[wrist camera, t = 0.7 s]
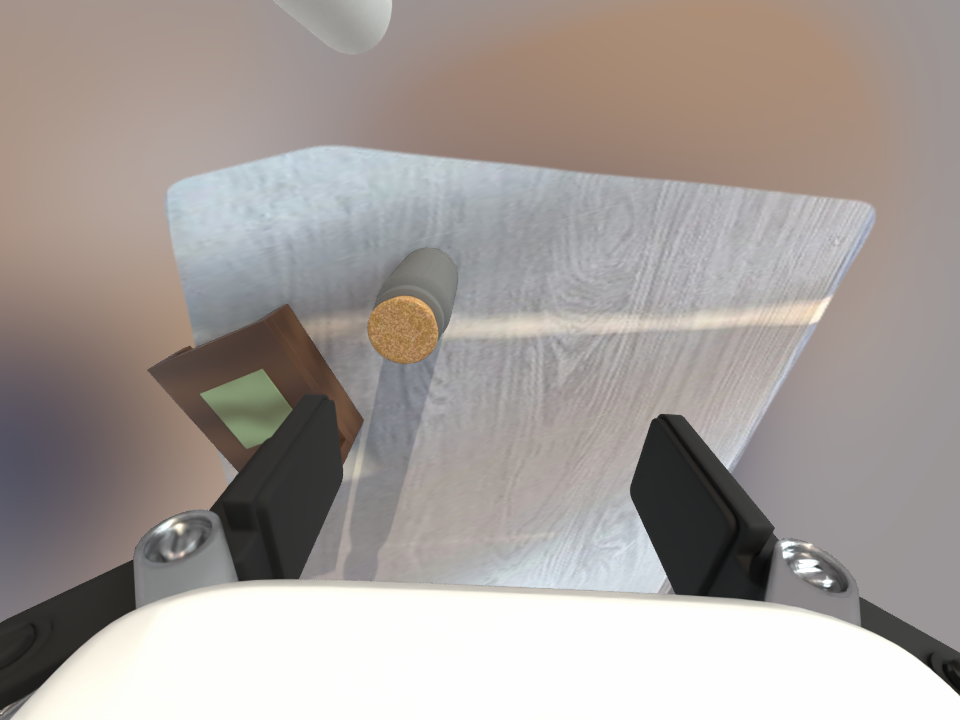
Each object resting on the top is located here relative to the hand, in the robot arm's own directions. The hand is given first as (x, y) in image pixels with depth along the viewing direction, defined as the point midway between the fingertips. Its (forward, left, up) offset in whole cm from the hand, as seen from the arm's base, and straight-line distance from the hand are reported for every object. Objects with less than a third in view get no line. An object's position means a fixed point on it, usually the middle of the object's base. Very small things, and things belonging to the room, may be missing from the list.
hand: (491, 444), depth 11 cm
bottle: (0, -6, -30) cm, 30 cm away
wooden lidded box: (+5, -28, -30) cm, 41 cm away
